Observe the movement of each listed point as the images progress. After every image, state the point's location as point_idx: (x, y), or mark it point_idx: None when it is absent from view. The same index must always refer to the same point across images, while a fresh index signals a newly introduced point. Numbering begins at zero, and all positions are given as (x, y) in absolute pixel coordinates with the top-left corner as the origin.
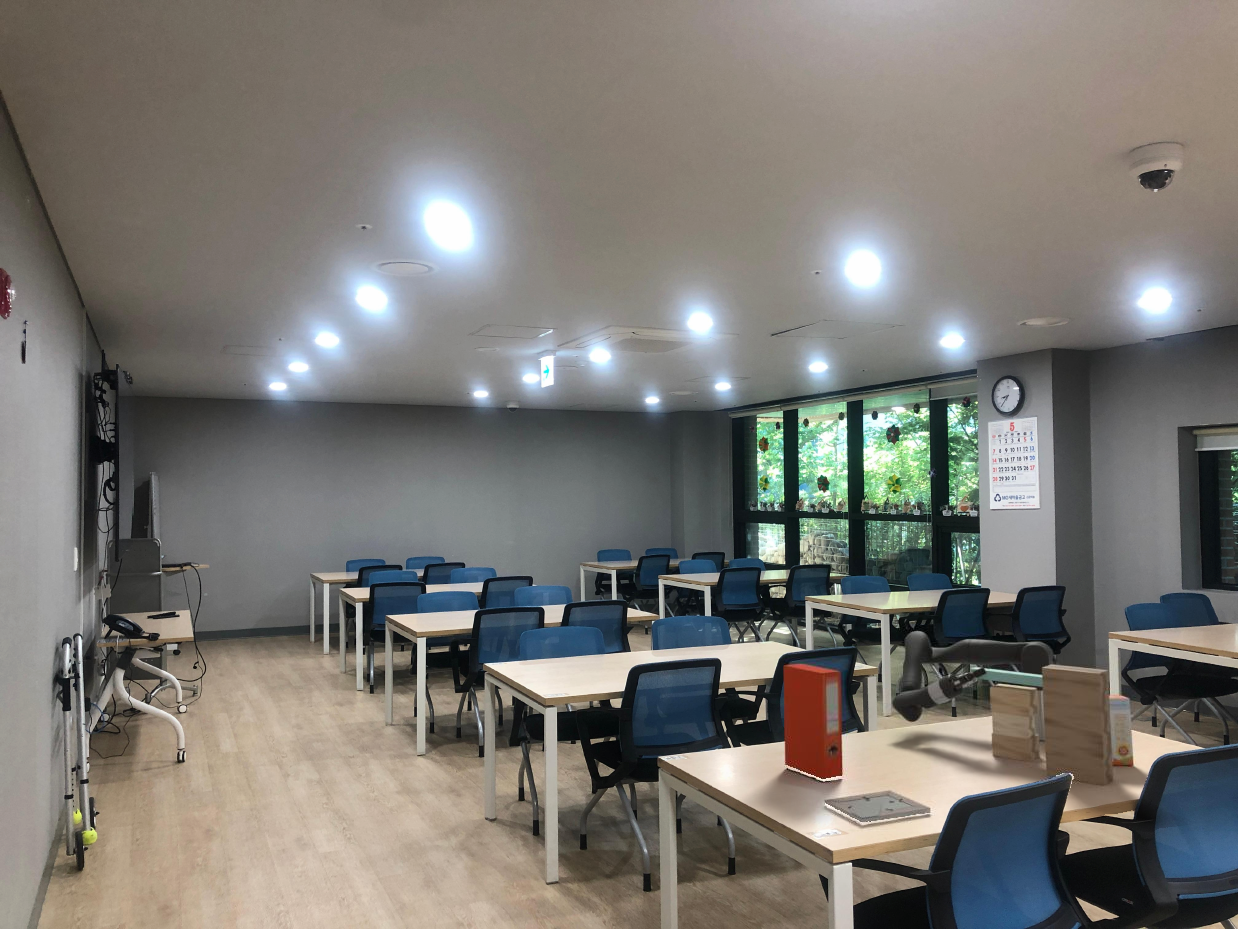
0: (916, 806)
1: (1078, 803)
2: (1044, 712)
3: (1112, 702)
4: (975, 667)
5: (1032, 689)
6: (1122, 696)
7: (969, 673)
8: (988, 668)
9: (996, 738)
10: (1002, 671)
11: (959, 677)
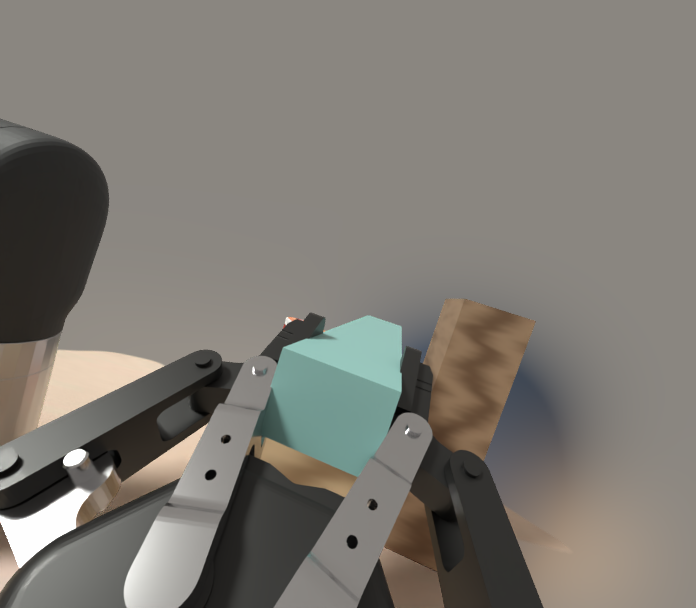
0: None
1: (562, 548)
2: (494, 429)
3: None
4: (303, 352)
5: None
6: (303, 320)
7: (428, 449)
8: (320, 332)
9: None
10: (372, 335)
11: (539, 600)
